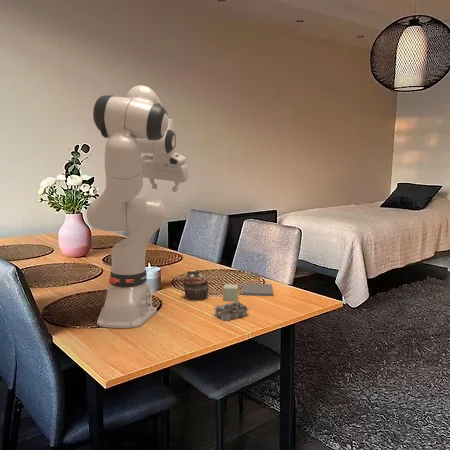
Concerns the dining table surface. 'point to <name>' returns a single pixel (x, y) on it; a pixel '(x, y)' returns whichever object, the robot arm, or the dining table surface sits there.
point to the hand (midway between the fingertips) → (164, 189)
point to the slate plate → (257, 289)
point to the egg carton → (230, 311)
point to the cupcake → (195, 286)
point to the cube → (230, 292)
